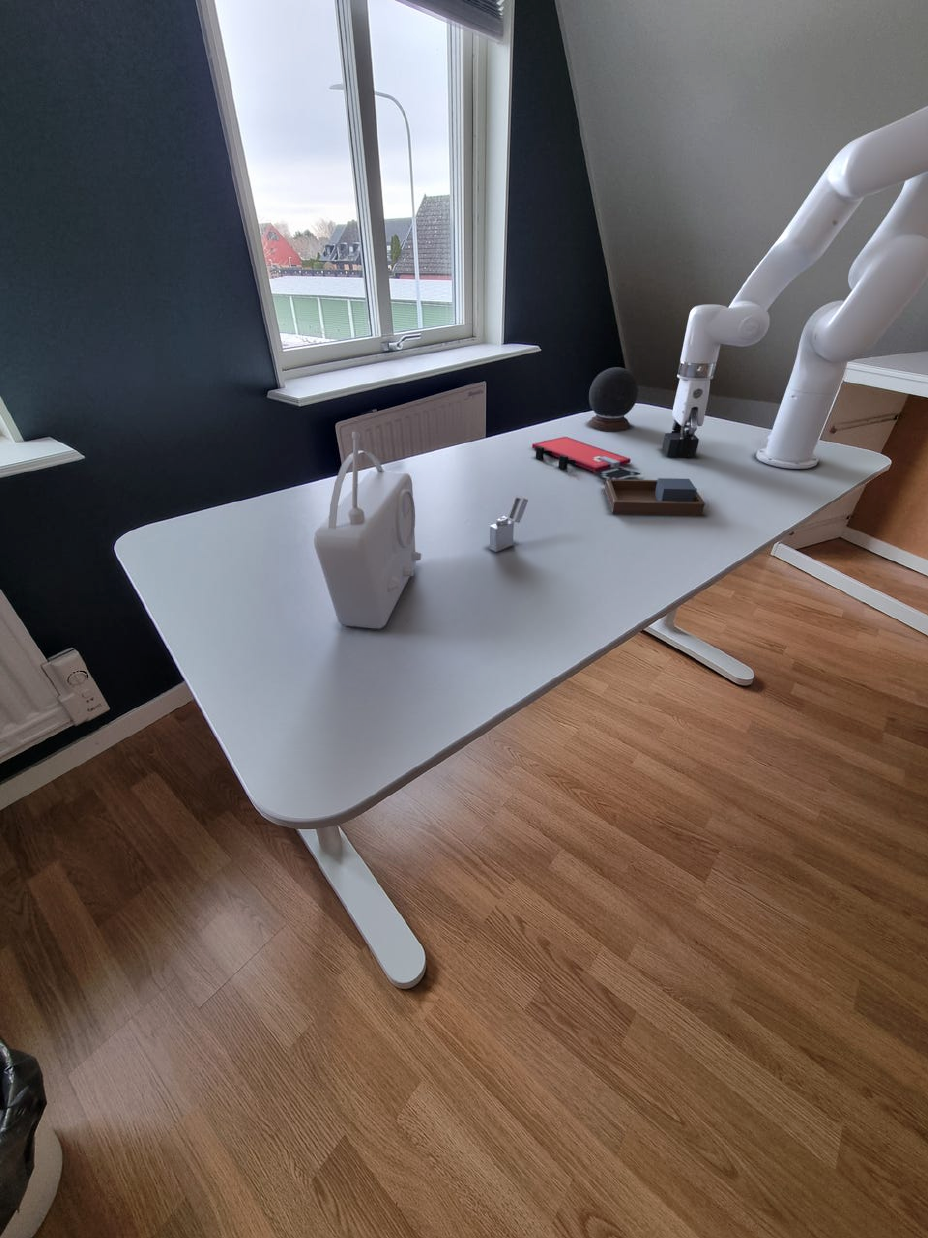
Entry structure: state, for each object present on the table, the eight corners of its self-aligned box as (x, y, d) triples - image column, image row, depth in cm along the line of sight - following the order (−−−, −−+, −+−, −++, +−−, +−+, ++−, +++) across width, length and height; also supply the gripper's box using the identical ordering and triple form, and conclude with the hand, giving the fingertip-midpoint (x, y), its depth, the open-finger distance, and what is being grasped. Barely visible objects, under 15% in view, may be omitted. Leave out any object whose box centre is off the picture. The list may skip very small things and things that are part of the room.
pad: (654, 494, 101) (658, 478, 99) (684, 495, 100) (689, 478, 98) (660, 506, 96) (664, 488, 94) (692, 506, 96) (696, 489, 94)
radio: (390, 642, 65) (363, 453, 50) (331, 636, 66) (287, 449, 52) (428, 560, 82) (417, 400, 67) (380, 556, 84) (359, 398, 69)
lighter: (495, 552, 84) (496, 508, 79) (489, 548, 85) (489, 504, 80) (525, 539, 88) (528, 496, 83) (519, 535, 89) (521, 493, 84)
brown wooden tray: (604, 490, 104) (606, 478, 103) (685, 491, 103) (688, 480, 101) (612, 513, 95) (614, 501, 94) (701, 515, 94) (705, 503, 92)
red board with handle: (606, 487, 105) (655, 473, 111) (608, 474, 103) (657, 461, 109) (520, 451, 125) (565, 442, 132) (520, 440, 124) (566, 431, 130)
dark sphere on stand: (641, 429, 138) (652, 370, 129) (599, 434, 136) (607, 374, 127) (617, 417, 149) (626, 361, 140) (577, 421, 146) (583, 365, 137)
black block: (661, 449, 124) (664, 432, 122) (689, 449, 123) (692, 432, 121) (666, 456, 120) (670, 439, 117) (695, 456, 119) (699, 439, 117)
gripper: (726, 377, 103) (704, 463, 114) (702, 362, 117) (685, 440, 128) (689, 378, 104) (670, 463, 115) (669, 363, 118) (655, 440, 129)
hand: (678, 450), depth 121 cm, fingers closed on black block, 5 cm apart
